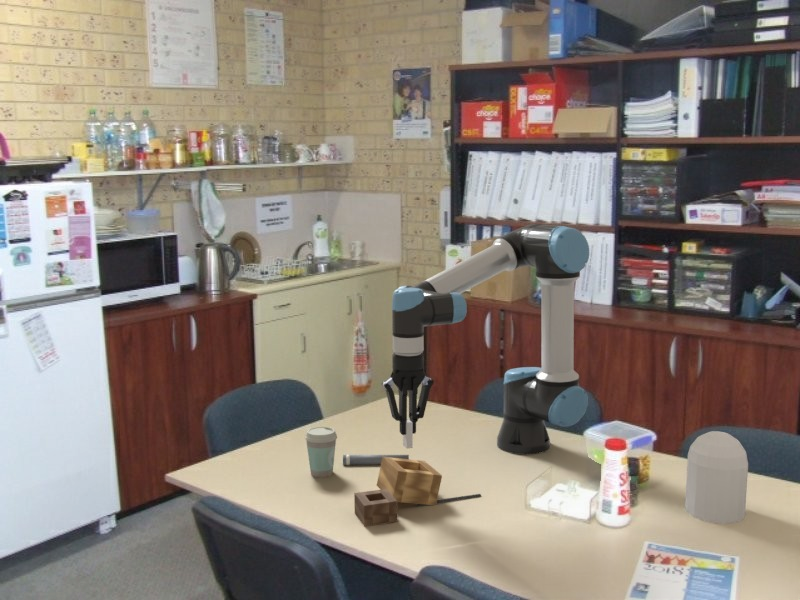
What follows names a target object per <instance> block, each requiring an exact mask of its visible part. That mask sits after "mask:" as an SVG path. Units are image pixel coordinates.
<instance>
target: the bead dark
mask: <svg viewBox="0 0 800 600" xmlns="http://www.w3.org/2000/svg"><path fill="white" fill-rule="evenodd" d="M353 497H354V514H355V515H356V517H357V518H358V520H359V521H360V523H361V524H362V525H363V527H368V526H369V527H370V526H375V525H383V524H390V523H396V522H398V502H397V500H396V499H395V498H394V497H393V496H392V495H391V493H390V492H389V491H388V490H387V489H382V490H380V489H376V490H375V489H374V490H367V491H359V492H354V496H353Z"/></svg>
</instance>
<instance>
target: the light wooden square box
mask: <svg viewBox="0 0 800 600" xmlns="http://www.w3.org/2000/svg"><path fill="white" fill-rule="evenodd" d="M379 466H380V467H379V472H378V475H377V483H376V487H377V488H379V490H382V489H387V490H388V491H389V492H390V493H391V495H392V496H393V497H394V498H395V499H396V500H397V503H404V504H406V503H407V504H417V505H418V504H427V505H429V506H430V505H431V506H434V505H437V504H438V503H437V500H438V498H439V493H440V488H441V483H442V478H443V475H442V474H441V473H440V472H439V471H438V470H436V469H435V468H434V467H433V466H432V465H430V464H429V463H428V462H427V461H425V460H419V459H418V460H417V459H411V458H410V459H401V458H391V457H382V461H381V465H379ZM427 505H426V506H427Z"/></svg>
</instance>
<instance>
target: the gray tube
mask: <svg viewBox="0 0 800 600" xmlns="http://www.w3.org/2000/svg"><path fill="white" fill-rule="evenodd" d="M382 457H391V458H401V459H409V457H410V455H409V454H342V465H343V466H368V465H370V466H381V461H382Z"/></svg>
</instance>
